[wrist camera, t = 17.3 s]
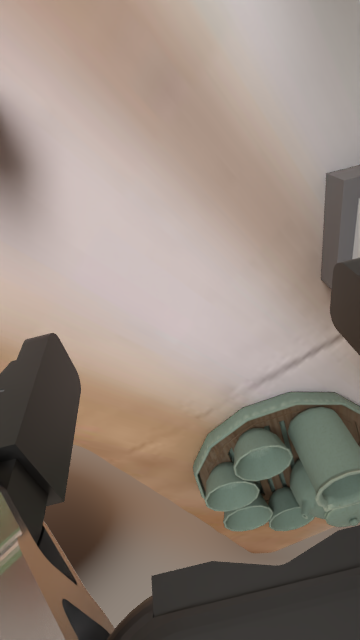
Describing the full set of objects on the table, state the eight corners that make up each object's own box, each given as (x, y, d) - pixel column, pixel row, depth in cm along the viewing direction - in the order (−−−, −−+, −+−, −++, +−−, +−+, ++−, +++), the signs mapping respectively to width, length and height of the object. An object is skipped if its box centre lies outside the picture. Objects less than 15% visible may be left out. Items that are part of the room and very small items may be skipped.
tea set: (166, 429, 65) (177, 518, 51) (367, 361, 61) (436, 437, 48) (218, 514, 87) (235, 591, 74) (367, 468, 84) (414, 540, 70)
